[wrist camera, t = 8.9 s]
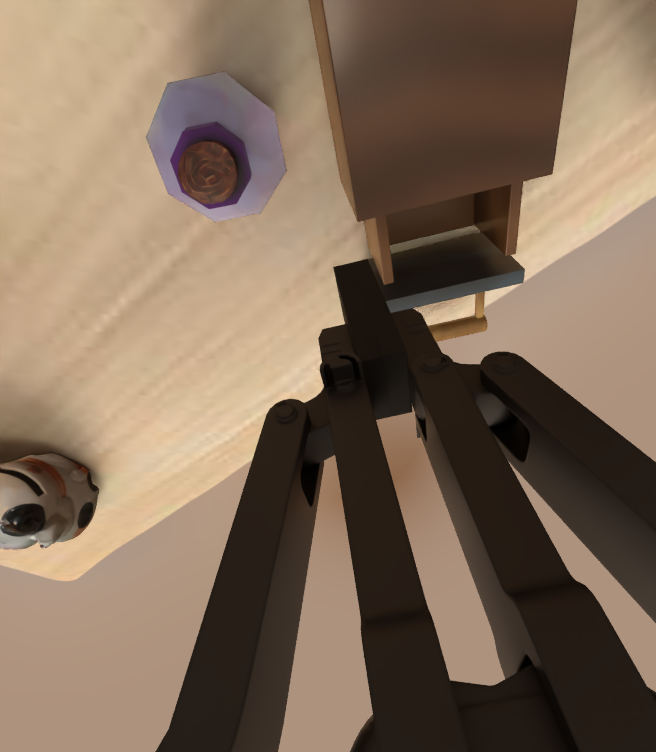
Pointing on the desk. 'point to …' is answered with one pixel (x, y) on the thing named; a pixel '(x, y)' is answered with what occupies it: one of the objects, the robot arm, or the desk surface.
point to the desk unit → (441, 95)
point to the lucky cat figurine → (44, 501)
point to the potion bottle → (216, 147)
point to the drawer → (449, 254)
